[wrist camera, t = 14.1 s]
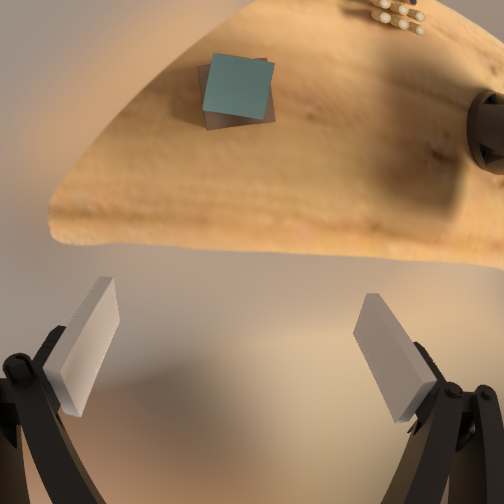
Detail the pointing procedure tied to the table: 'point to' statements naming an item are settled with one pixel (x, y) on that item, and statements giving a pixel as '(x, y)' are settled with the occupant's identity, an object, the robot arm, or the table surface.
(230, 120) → the walnut base
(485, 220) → the table surface
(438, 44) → the table surface
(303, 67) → the table surface
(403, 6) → the ammunition
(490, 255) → the table surface
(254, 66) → the teal block
